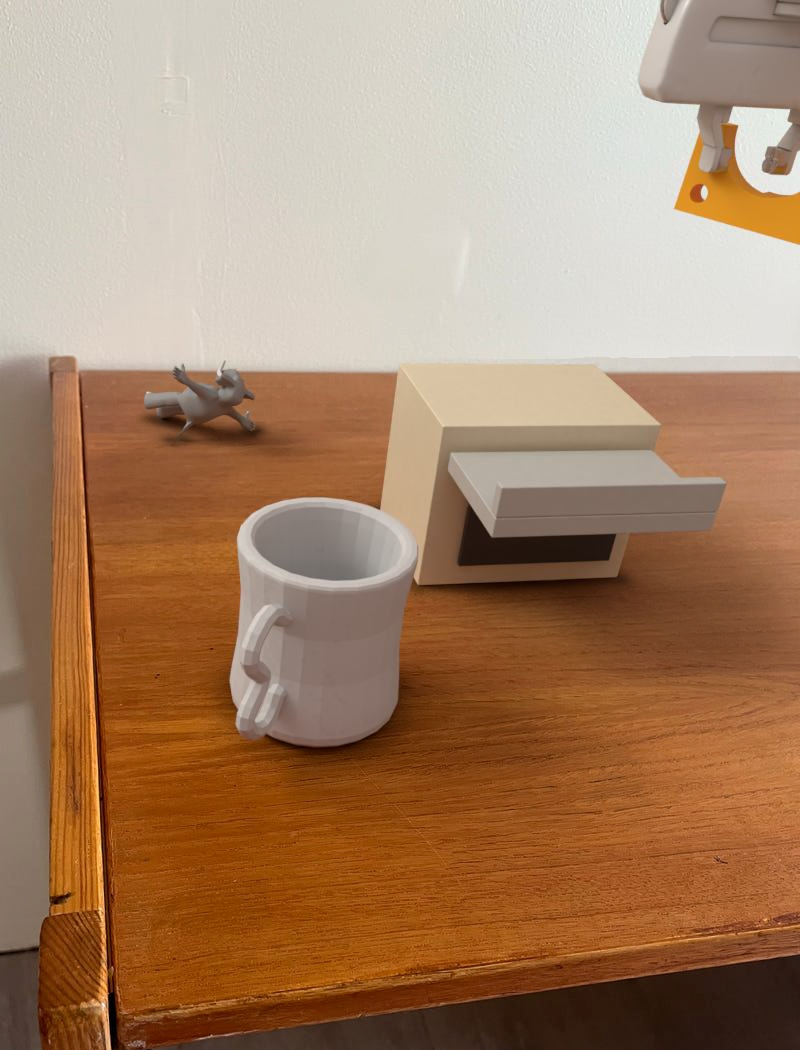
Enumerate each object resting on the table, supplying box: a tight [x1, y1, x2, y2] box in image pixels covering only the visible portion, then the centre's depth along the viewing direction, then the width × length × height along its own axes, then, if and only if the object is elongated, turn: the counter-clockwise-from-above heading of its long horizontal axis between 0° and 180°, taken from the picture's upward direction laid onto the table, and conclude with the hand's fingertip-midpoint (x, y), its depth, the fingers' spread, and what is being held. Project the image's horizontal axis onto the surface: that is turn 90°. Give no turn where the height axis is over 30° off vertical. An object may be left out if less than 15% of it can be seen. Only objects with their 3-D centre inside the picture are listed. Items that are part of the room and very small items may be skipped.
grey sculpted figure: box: [143, 360, 256, 440], centre depth 81 cm, size 10×6×9 cm
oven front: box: [379, 362, 728, 586], centre depth 65 cm, size 14×18×11 cm
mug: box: [229, 496, 419, 748], centre depth 52 cm, size 12×9×10 cm
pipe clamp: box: [673, 122, 800, 246], centre depth 79 cm, size 12×4×6 cm, turn 52°
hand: (743, 172), depth 79 cm, fingers closed on pipe clamp, 4 cm apart
